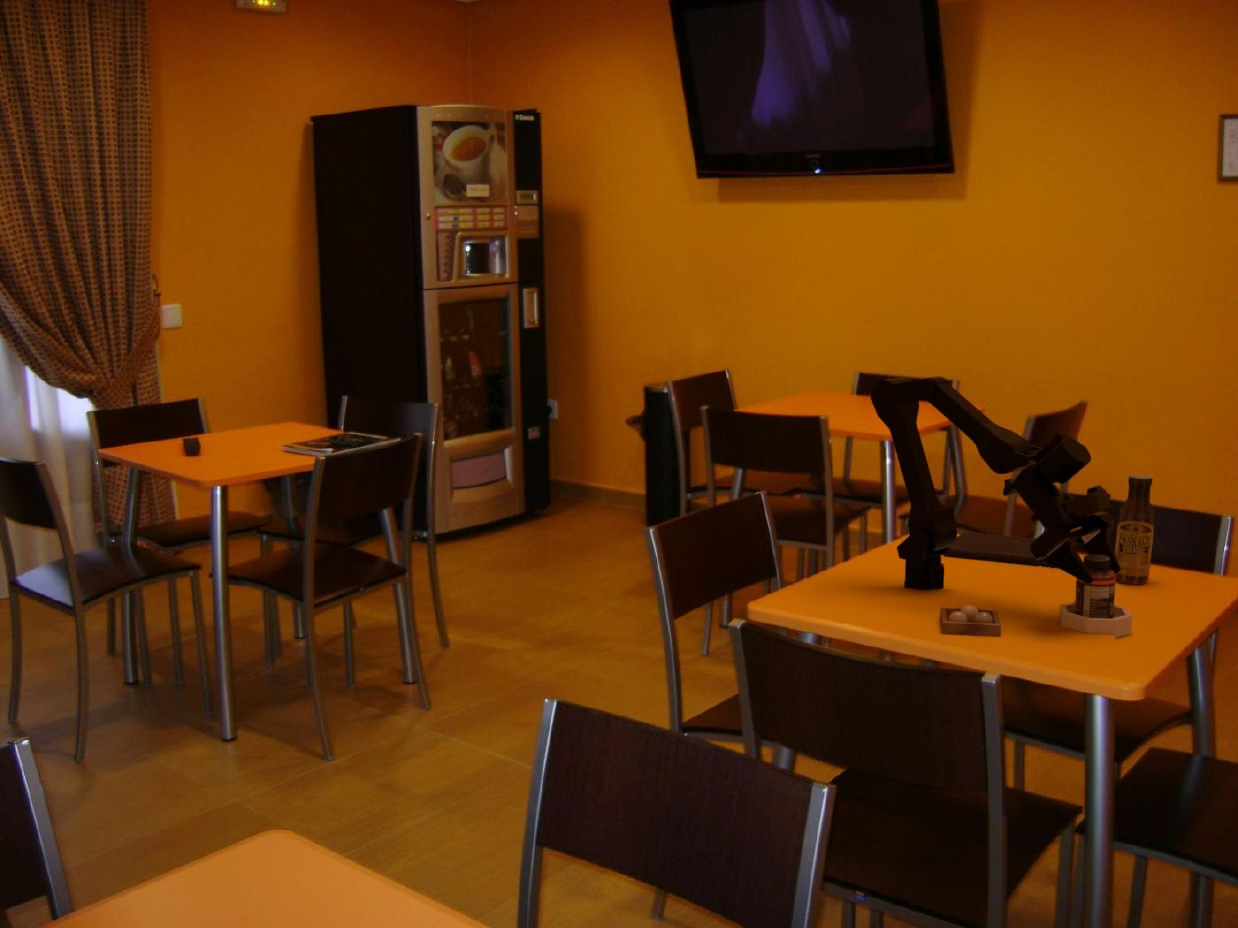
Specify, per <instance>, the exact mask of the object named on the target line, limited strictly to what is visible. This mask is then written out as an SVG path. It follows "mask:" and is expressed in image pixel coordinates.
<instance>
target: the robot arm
mask: <svg viewBox="0 0 1238 928" xmlns="http://www.w3.org/2000/svg"><path fill="white" fill-rule="evenodd" d="M870 400H871V403H872V407H873V408H874V410H875V413H876V415H877V416H878V418H879V419H880V420H881V422H882V423H883V424H884V425H885V427H887V429H888V430H889V433H890V436H891V439H892V443H893V446H894V450H895V454H896V456H897V457H896V458H897V460H898V464H899V465H898V466H899V467H900V471H901V476H902V479H903V482H904V486H905V490H906V493H907V497H908V500H909V505H910V507H909V508H910V509H909V514H908V519H907V528H908V536H907V537H906V538H905V539H904V540H903V541H902V542H901V543H899V545H897V547H896V552H897V555H898V559H901V560H904V562H905V563H904V566H905V567H904V581H903V587H904V589H912V590H919V591H930V590H931V591H932V590H943V589H944V587H945V582H944V581H945V564H944V563H943V562H942V556H944V555H946V554H947V553H948V550H949V548H950V546H951V545H952V544H953V543H954V541H955V539H956V538H957V537H958V530H957V529H958V528H959V527H960V525H959V524H958V523H957V520H956V517H955V512H954V508H953V506H952V505H948V506H944V505H943V503H942V502H941V501H940V500H939V498H938V496H937V491H936V489H935V485H934V481H933V477H932V474H931V471H930V467H929V463H928V460H927V456H926V452H925V449H924V445H923V442H922V438H921V435H920V431H919V428H918V423H917V422H918V421H917V420H918V415H919V411H920V401H927V402H928V403H929V404H930V405H931V406H932V407H933V408H935V409H936V410H937V411H938V412H939V413H941V415H942V416H944V417H945V418H946V419H947V420H948V421H949V422H951V423H952V424H953V425H954V426H955V427H956V428H957V429H958V430H959V431H961V432H962V433H963V434H964V435H965V436H966V437H967V438H968V439H970V440H971V442H973V444H974V445H975V446H976V450H977V451H978V454H979V457H980V458H981V459H982V460H983V461H984V463H985V464H986V465H987V467H988V468H989V469H990V470H991V471H992V472H993V473H995V474H998V475H1007V474H1011V473H1015V472H1019V471H1021V472H1020V473H1018V474H1017V475H1016V476H1015V477H1011V478H1006V479H1004V481H1003V482H1004V487H1003V491H1002V495H1003V496H1004V497H1007V496H1011V495H1014V494H1017V495H1018V496H1019V497H1020V498H1021V500H1022V502H1024V504H1025V505H1026V506H1027V507H1028V508H1029V510H1030V512H1031V514H1033V515H1031V516H1030V520H1031V521H1032V523H1036V522H1039V523H1040V525H1041V526H1042V527H1043V528H1044V529H1045V531H1043V532H1042V533H1040V535H1038V536H1037V537H1036V538H1034V539H1035V540H1034V541H1033V542H1031V543H1030V550H1029V552H1030V553H1031V554H1032V556H1033V557H1034V558H1035V560H1036V561H1037V560H1040V559H1043V558H1045V557H1046V556H1047V557H1046V558H1045V559H1043V560H1042V562H1043V563H1048V564H1050V565H1052V566H1054V567H1056V568H1055V569H1057V568H1058V570H1060V571H1063V572H1065V573H1067V574H1069V575H1070V576H1072V577H1074V578H1076V579H1077V578H1078V579H1079V580H1081V581H1083V582H1085V583H1087V584H1091V583H1092V582H1093V581H1094V579H1093V577H1092V575H1091V574H1090V572H1089V570H1088V569H1087V567H1086V566H1085V564H1084V560H1083V559H1082V558H1081V556H1080V554H1079V553H1078V551H1077V545H1076V543H1077V544H1080V545H1081V547H1080V549H1082V550H1083V551H1084V552H1086V553H1087V555H1091V554H1096V555H1104V556H1107V557H1109V558H1110V566H1109V569H1111V570H1112V571H1113V572H1114V573H1118V572H1119V571H1121V568H1120V565H1119V562H1118V560H1117V557H1116V555H1115V549H1114V546H1113V544H1112V539H1111V535H1112V531H1113V529H1114V528H1115V527H1114V524H1115V522H1116V520H1115V518H1114V517H1113V516H1112V515H1111V513H1109V511H1108V512H1107V511H1103V510H1108V509H1111V506H1110V502H1109V501H1110V499H1111V498H1112V495H1111V493H1108V491H1107V490H1106V488H1104V487H1103V486H1102V485H1100V484H1099V485H1095V486H1092V487H1090V488H1087V489H1086V494H1084V495H1081V496H1080V497H1076V498H1075V497H1074V496H1073V495H1072V494H1071V493H1068V492H1067V493H1063V492H1062V491H1061V490H1060V489H1059V488H1058V486H1057V485H1056V483H1058V484H1061V485H1064V484H1067V483H1068V482H1069V481H1070V480H1071V479H1073V478H1074V476H1075V475H1076V476H1077V474H1078V473H1079V472H1080V471H1081V470H1083V469H1084V468H1085V467H1086V466H1087V465H1088V464H1090V463H1091V461H1092V456H1091V453H1090V451H1089V450H1088V449H1087V447H1086V445H1084V444H1082V443H1081V442H1079V440H1077V439H1075V438H1073V437H1071V436H1069V435H1068V434H1067V433H1066V432H1065V431H1061V432H1057V433H1056V434H1055V435H1054V436H1053V437H1052V438H1051V440H1050V441H1049V442H1048V443H1047V444H1046V445H1045V446H1043V447H1040V446H1037V445H1033V444H1032V443H1031V442H1030V440H1028V439H1026V438H1024V437H1023V436H1021V435H1020V434H1018V433H1016V432H1015V431H1014V430H1011V429H1009V428H1006V427H1003V426H1001V425H998V424H996V423H995V422H993V421H992V420H991V419H990V418H989V417H988V416H987V415H986V414H984V413H983V412H982V411H981V410H980V409H978V407H976V406H975V405H974V404H973V403H971V402H970V401H969V400H968V399H967V398H966V397H965V396H964V395H962V394H961V393H960V392H959V391H957V389H956V388H954V387H953V386H952V385H951V384H950V382H949V381H948V380H947V378H945V377H943V376H931V377H926V378H923V379H921V380H914V381H913V380H911V379H910V378H908V377H904V376H902V377H896V378H889V379H881V380H878V381H876V383H874V385H873V387H872V389H871V390H870ZM1034 464H1035V466H1033V467H1032V468H1031V469H1027V468H1028V467H1029V466H1030V465H1034Z"/></svg>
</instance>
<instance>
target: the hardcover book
mask: <svg viewBox="0 0 1238 928" xmlns="http://www.w3.org/2000/svg"><path fill="white" fill-rule="evenodd" d="M1035 539H1036V538H1034V537H1033V538H1032V537H1022V536H1013V535H1011V536H1010V535H1001V534H991V533H981V532H972V531H971V532H969V531H963V532H961V533H960V534H959V535H957V538H956V539H955V541H954V543H953V544H952V545H951V546H950V548H949V550H948V553H947V554H946V555H943V557H944V558H945V557H946V558H955V559H964V560H974V561H982V562H983V561H984V562H991V563H992V562H993V563H1000V562H1001V563H1003V564H1012V565H1019V564H1020V566H1021V565H1022V566H1031V567H1038V566H1042V567H1041V568H1048V567H1050V568H1049V569H1057V568H1056V567H1054V566H1052V565H1050V564H1048V563H1043V562H1042V560H1043V559H1045V558H1046V557H1047V556H1046V557H1045V558H1043V559H1040V560H1037V561H1036V560H1035V558H1034V557H1033V556H1032V554H1031V553H1030V552H1029V550H1030V543H1031V542H1033V541H1034V540H1035ZM1077 545H1078V542H1076V546H1077Z"/></svg>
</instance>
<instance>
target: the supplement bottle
mask: <svg viewBox="0 0 1238 928" xmlns="http://www.w3.org/2000/svg"><path fill="white" fill-rule="evenodd" d="M1083 562H1084V564H1085V566H1086V567H1087V569H1088V570H1089V572H1090V574H1091V575H1092V577H1093V579H1094V581H1093V582H1092V583H1091V584H1087V583H1085V582H1083V581H1081V580H1079V579H1078V578H1076V580H1075V583H1076V585H1075V599H1074V601H1075V614H1076V615H1080V616H1083V617H1087V618H1106V619H1113V614H1114V605H1115V595H1116V594H1115V593H1116V580H1115V573H1114V572H1113V571H1112V570H1111V569H1109V566H1110V558H1109V557H1107V556H1104V555H1096V554H1091V555H1090V554H1086V555H1084V556H1083Z"/></svg>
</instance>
